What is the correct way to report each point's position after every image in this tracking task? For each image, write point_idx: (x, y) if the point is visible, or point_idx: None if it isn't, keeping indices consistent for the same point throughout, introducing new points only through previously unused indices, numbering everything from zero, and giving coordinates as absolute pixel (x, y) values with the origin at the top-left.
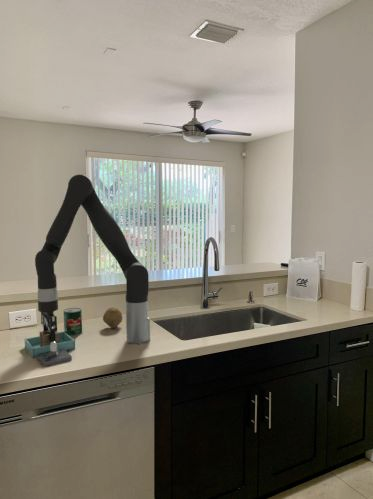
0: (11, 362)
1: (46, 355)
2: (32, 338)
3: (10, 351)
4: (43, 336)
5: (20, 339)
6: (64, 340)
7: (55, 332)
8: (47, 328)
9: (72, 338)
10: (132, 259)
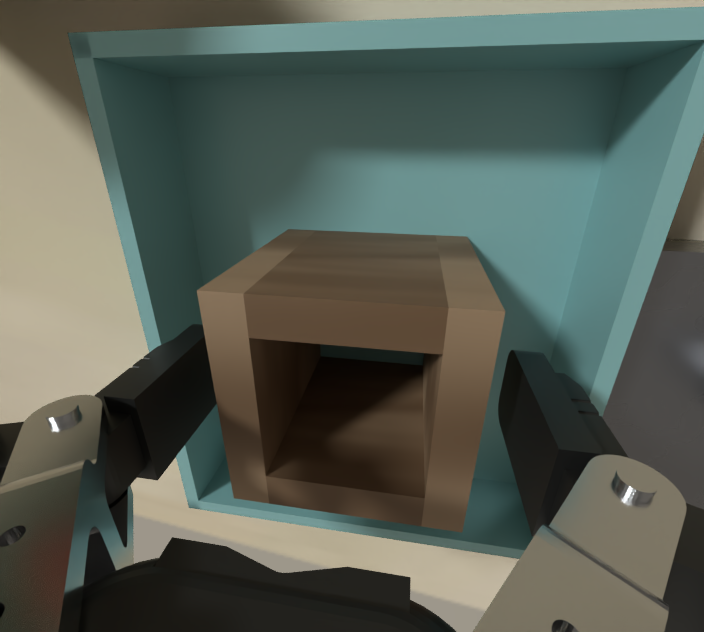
0: (491, 584)
1: (693, 460)
2: (191, 450)
3: (265, 526)
4: (462, 522)
5: (20, 409)
6: (240, 87)
7: (419, 349)
8: (164, 407)
9: (582, 14)
10: None
